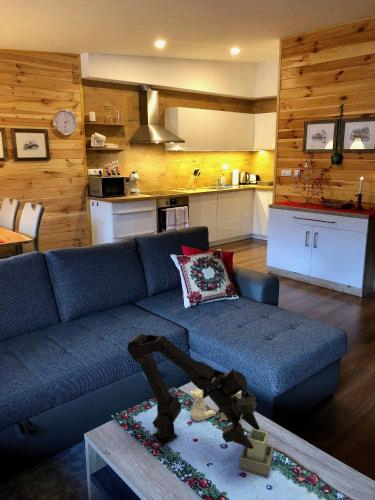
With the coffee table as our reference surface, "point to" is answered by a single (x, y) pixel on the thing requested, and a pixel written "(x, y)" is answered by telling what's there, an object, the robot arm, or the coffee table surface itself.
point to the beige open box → (257, 446)
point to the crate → (256, 463)
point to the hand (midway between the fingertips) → (255, 438)
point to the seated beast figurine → (200, 407)
